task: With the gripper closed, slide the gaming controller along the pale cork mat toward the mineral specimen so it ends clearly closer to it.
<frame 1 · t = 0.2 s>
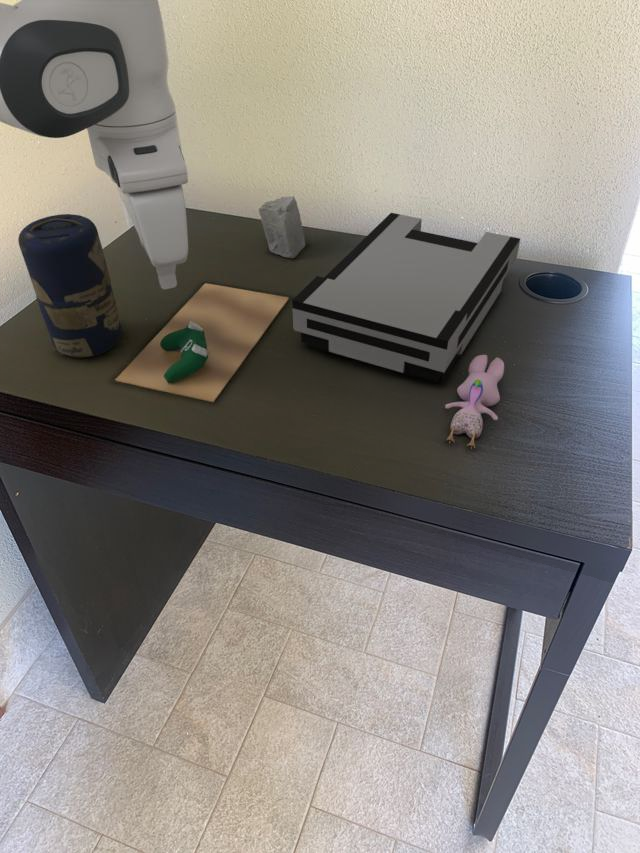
hand: (158, 266, 78), 16 cm above the table, tool pointing down, fingers open, 8 cm apart
cork mat: (209, 336, 95), on the table
canister: (89, 344, 95), on the table
gaming controller: (186, 364, 90), resting on cork mat
mineral specimen: (282, 249, 115), on the table
game console: (410, 315, 99), on the table
rabbit figure: (474, 410, 83), on the table
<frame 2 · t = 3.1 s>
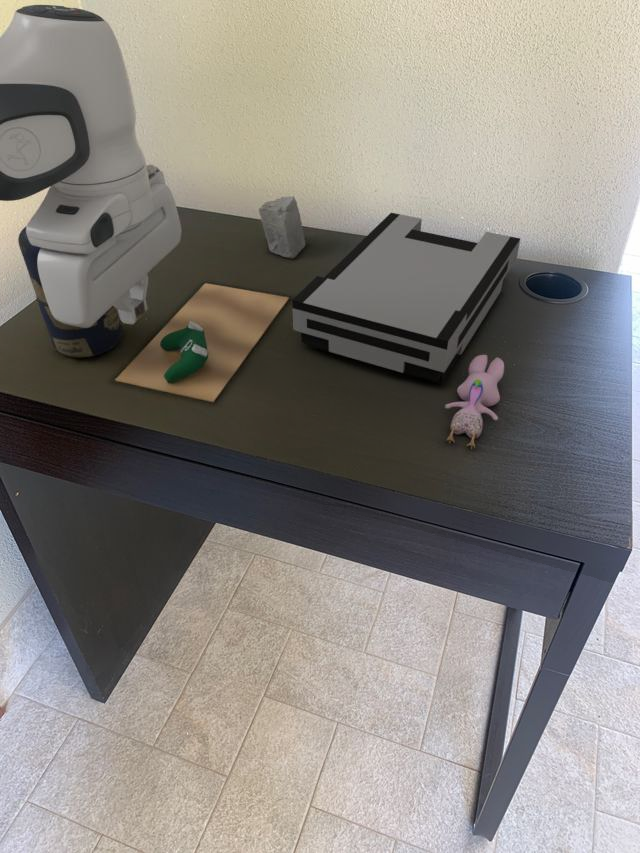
hand: (134, 317, 76), 13 cm above the table, tool pointing down, fingers closed
nothing on the table moved.
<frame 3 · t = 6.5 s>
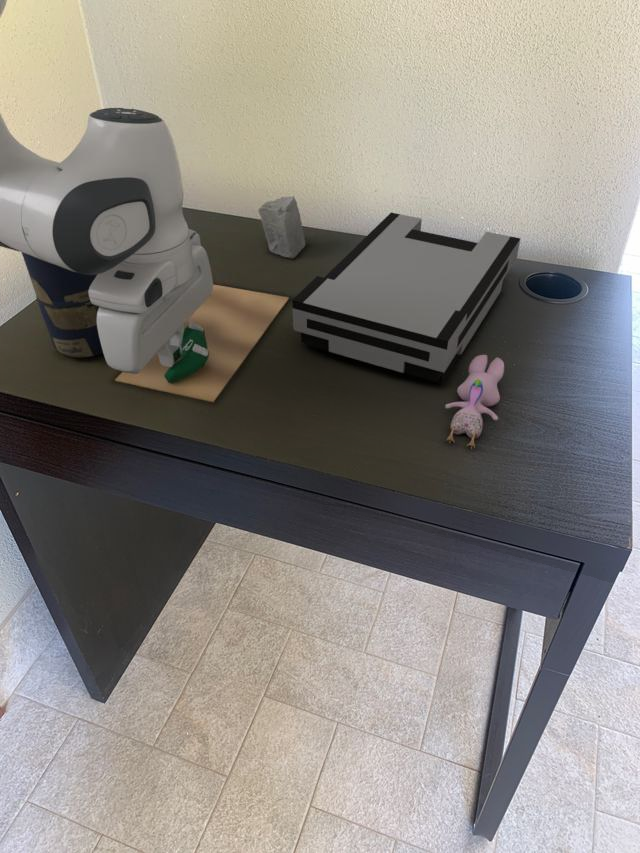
hand: (172, 360, 86), 3 cm above the table, tool pointing down, fingers closed, pressing on gaming controller
gaming controller: (186, 363, 90), resting on cork mat, touching gripper
everything else where it was.
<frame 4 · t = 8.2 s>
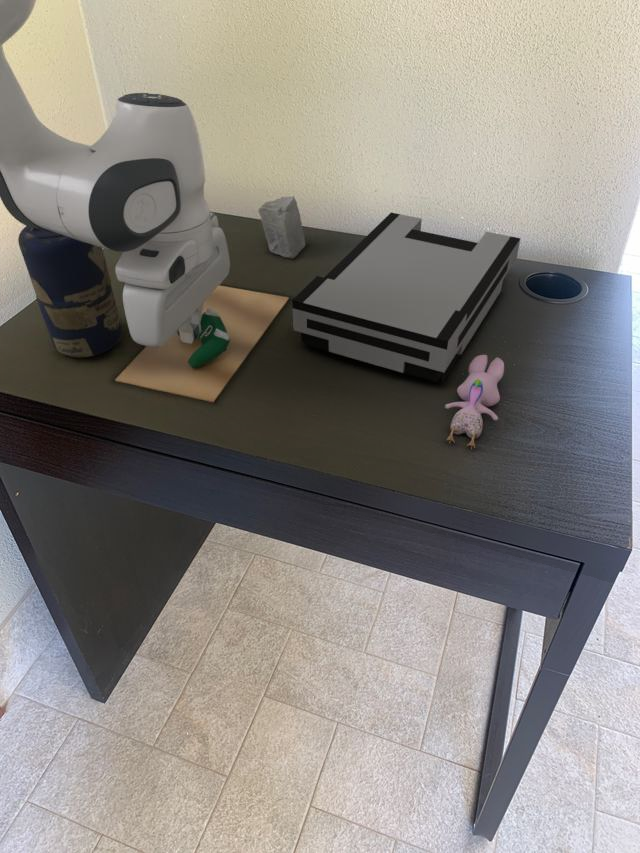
hand: (191, 337, 90), 3 cm above the table, tool pointing down, fingers closed, pressing on gaming controller
gaming controller: (205, 349, 93), resting on cork mat, touching gripper
everything else where it was.
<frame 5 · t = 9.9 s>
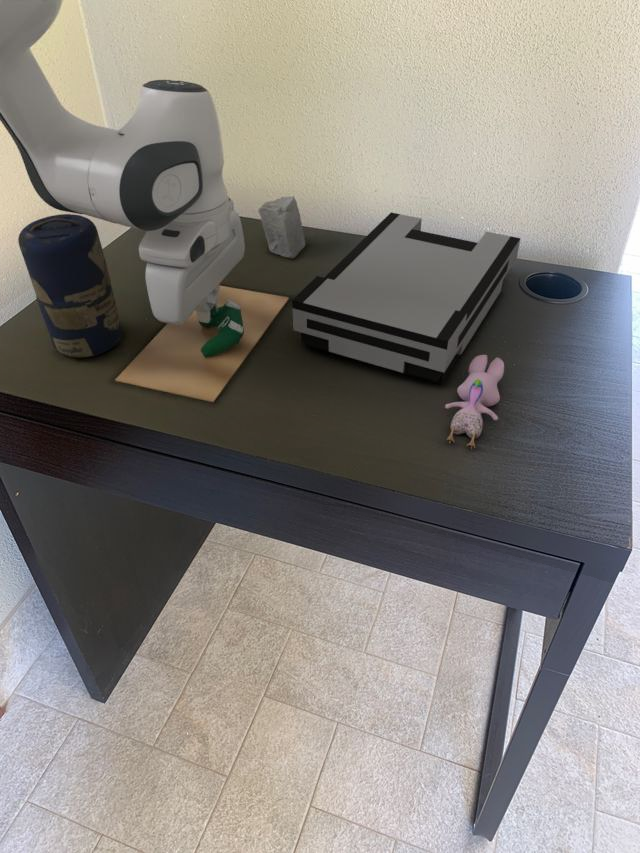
hand: (208, 317, 94), 3 cm above the table, tool pointing down, fingers closed
gaming controller: (222, 340, 94), resting on cork mat, touching gripper
everything else where it was.
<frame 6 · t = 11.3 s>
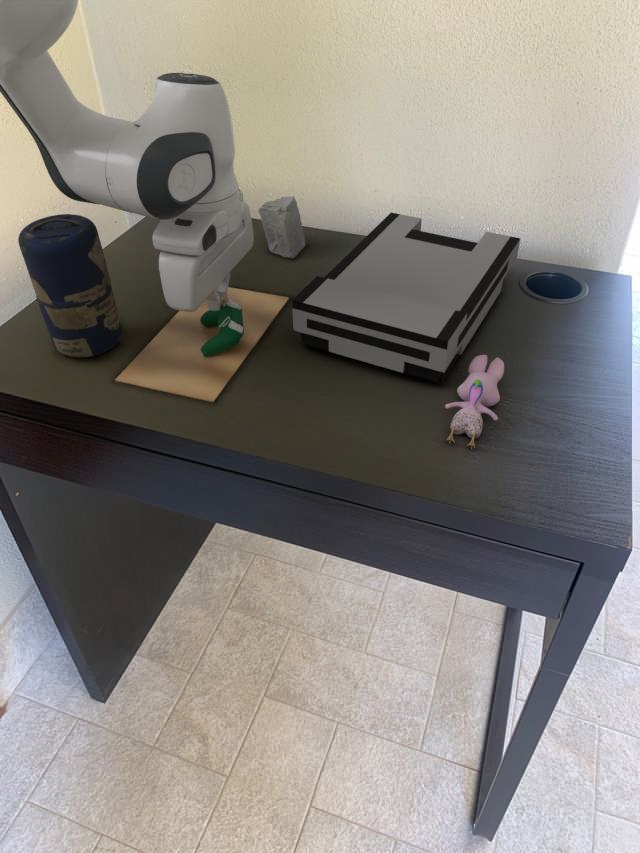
hand: (218, 305, 96), 3 cm above the table, tool pointing down, fingers closed, pressing on gaming controller
gaming controller: (223, 339, 95), resting on cork mat, touching gripper
everything else where it was.
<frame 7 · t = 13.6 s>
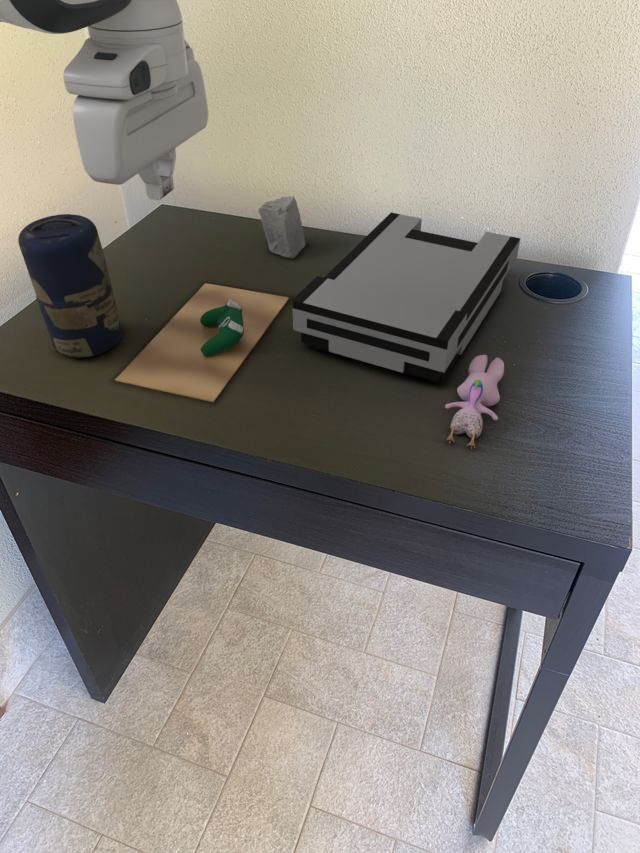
hand: (161, 195, 76), 23 cm above the table, tool pointing down, fingers closed
gaming controller: (223, 339, 95), resting on cork mat
everything else where it was.
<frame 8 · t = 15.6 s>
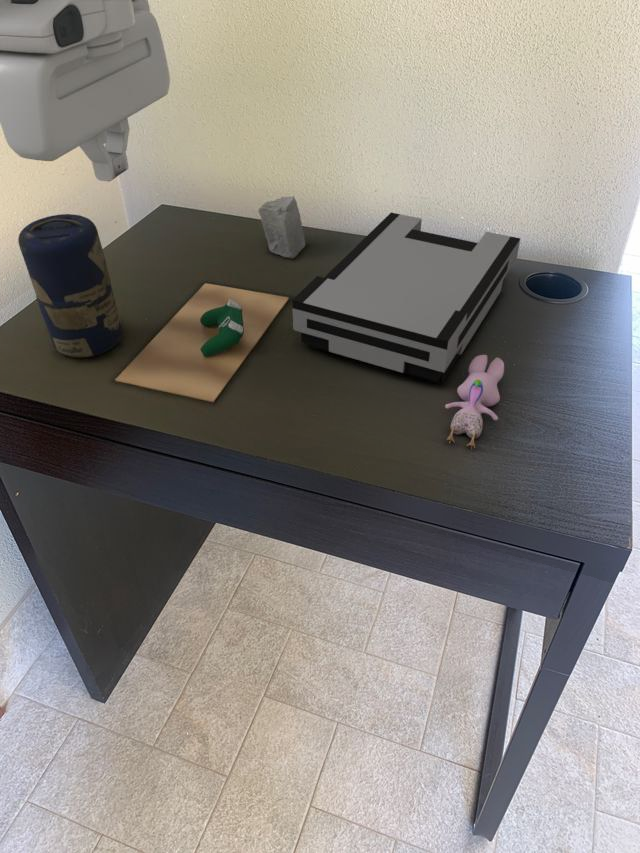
hand: (112, 175, 64), 29 cm above the table, tool pointing down, fingers closed
nothing on the table moved.
at the end: gaming controller 28.1 cm from the mineral specimen (horizontally); gaming controller moved 7.0 cm from its start; mineral specimen moved 0.2 cm from its start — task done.
